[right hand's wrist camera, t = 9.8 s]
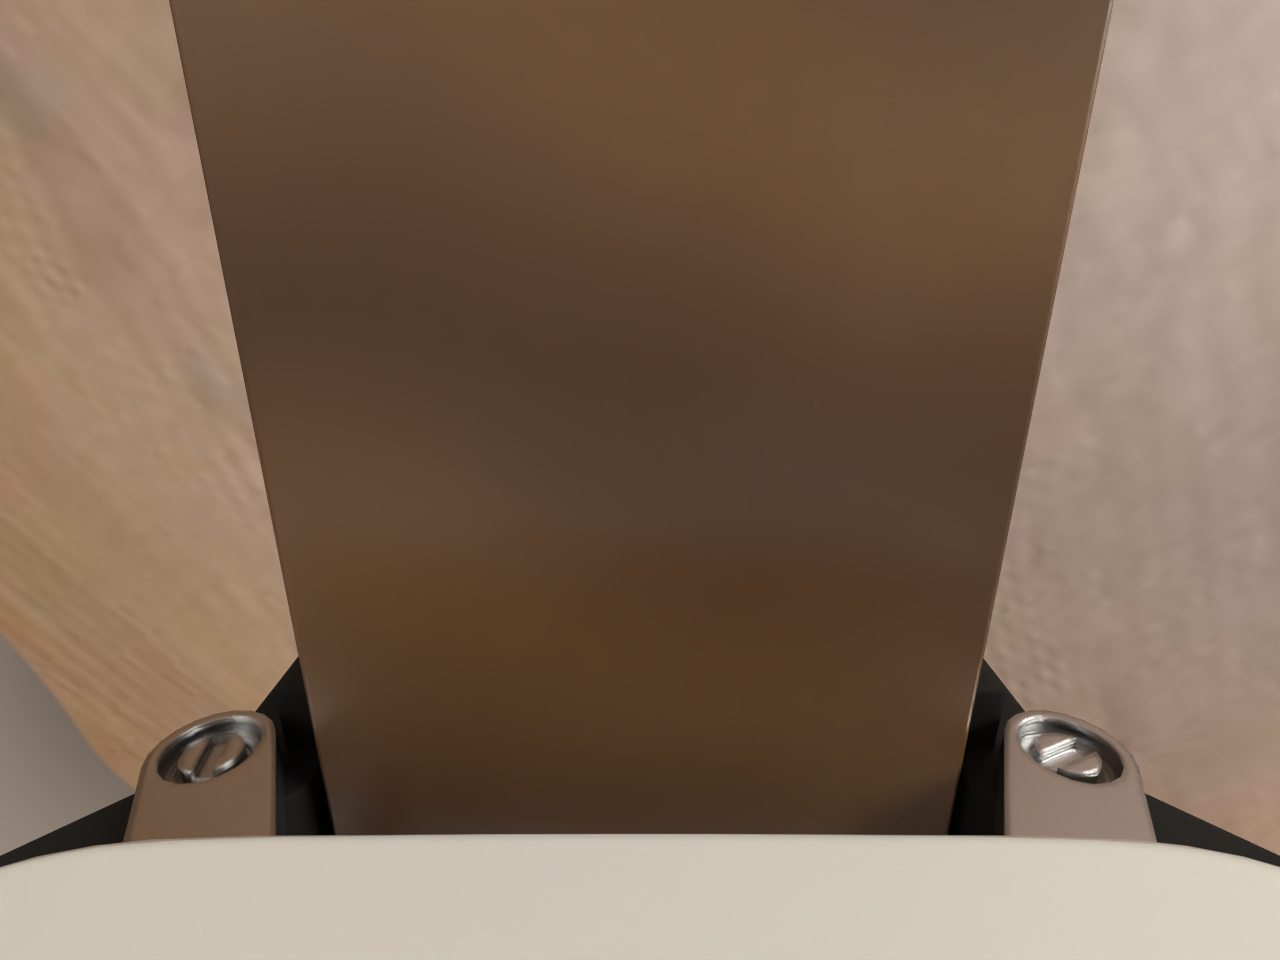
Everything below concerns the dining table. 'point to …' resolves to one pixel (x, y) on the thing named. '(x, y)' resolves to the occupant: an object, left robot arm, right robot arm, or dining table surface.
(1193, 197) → the dining table surface
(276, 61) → the beam
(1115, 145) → the dining table surface
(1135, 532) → the dining table surface
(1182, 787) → the dining table surface
